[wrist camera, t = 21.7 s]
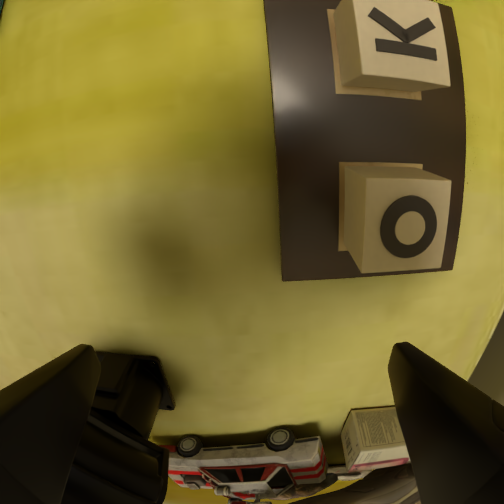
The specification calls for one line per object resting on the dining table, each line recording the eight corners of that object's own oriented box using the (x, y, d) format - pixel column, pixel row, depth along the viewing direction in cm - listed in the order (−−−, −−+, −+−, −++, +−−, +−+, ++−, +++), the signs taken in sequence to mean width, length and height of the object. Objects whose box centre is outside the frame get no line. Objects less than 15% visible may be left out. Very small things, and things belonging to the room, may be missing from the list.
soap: (379, 463, 29) (380, 468, 28) (363, 477, 31) (364, 482, 30) (305, 464, 29) (306, 471, 28) (294, 478, 31) (294, 484, 30)
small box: (345, 474, 22) (419, 463, 21) (360, 451, 20) (438, 439, 20) (338, 433, 26) (407, 427, 26) (350, 407, 25) (422, 401, 24)
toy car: (149, 434, 28) (130, 490, 21) (317, 418, 25) (324, 488, 18) (179, 467, 31) (168, 516, 24) (327, 454, 28) (333, 512, 21)
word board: (447, 265, 19) (453, 270, 18) (281, 276, 20) (282, 282, 19) (446, 10, 12) (452, 6, 11) (262, -12, 13) (261, -18, 12)
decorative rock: (328, 481, 23) (350, 495, 24) (331, 462, 25) (353, 478, 26) (222, 490, 31) (247, 504, 31) (228, 476, 33) (252, 491, 33)
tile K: (415, 92, 14) (452, 86, 10) (340, 85, 14) (362, 73, 10) (406, 22, 12) (439, 1, 8) (332, 12, 12) (350, -17, 9)
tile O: (411, 240, 17) (442, 270, 13) (343, 243, 18) (362, 276, 14) (416, 167, 16) (454, 181, 12) (344, 165, 16) (367, 178, 12)
